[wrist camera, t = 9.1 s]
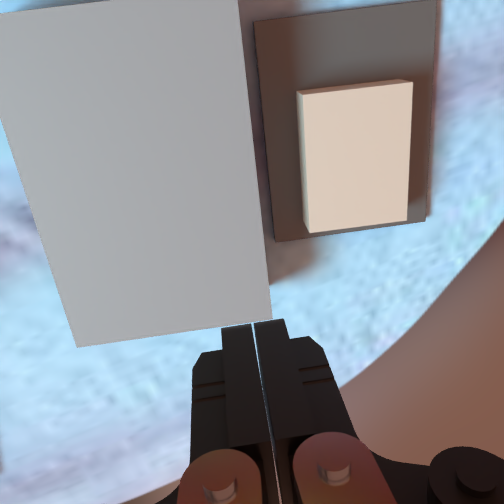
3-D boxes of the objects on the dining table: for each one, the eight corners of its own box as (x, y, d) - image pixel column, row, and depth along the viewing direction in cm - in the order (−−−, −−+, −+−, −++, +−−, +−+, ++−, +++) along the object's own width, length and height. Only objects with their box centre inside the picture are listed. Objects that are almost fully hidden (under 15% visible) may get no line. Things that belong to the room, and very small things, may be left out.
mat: (253, 21, 25) (253, 21, 25) (432, -1, 26) (436, -1, 25) (274, 239, 31) (275, 242, 31) (422, 218, 31) (425, 221, 31)
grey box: (2, 20, 24) (-34, 17, 21) (231, -8, 25) (235, -15, 21) (91, 312, 32) (76, 347, 28) (264, 287, 32) (272, 318, 29)
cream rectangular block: (412, 82, 25) (398, 78, 27) (302, 95, 25) (295, 90, 27) (406, 220, 28) (394, 209, 30) (309, 233, 28) (303, 221, 30)
